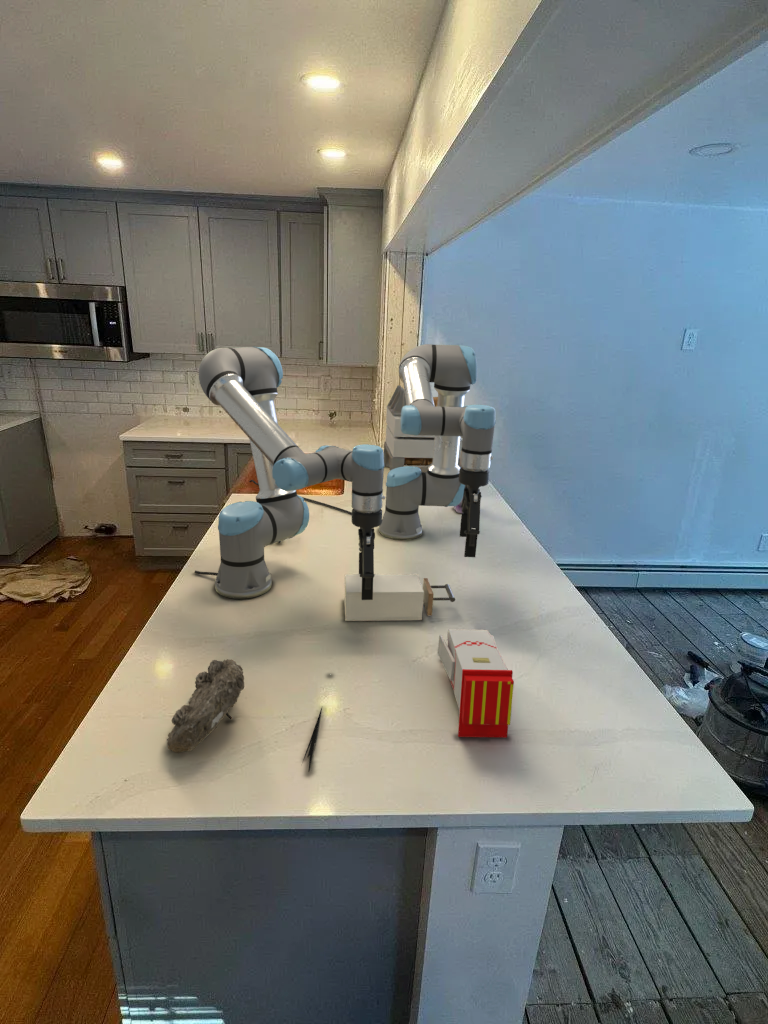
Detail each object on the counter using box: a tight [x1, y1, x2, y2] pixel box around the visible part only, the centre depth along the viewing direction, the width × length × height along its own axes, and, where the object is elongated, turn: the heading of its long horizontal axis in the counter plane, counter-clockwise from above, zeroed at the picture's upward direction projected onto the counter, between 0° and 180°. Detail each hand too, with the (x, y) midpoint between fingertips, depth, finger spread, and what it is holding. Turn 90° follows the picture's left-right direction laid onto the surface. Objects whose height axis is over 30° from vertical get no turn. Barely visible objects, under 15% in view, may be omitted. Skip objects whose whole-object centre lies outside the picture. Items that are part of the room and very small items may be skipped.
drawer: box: [422, 577, 456, 617], centre depth 148 cm, size 24×9×6 cm, turn 95°
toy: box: [437, 628, 515, 738], centre depth 117 cm, size 12×13×30 cm
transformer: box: [383, 384, 463, 471], centre depth 268 cm, size 34×33×41 cm
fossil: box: [166, 658, 245, 754], centre depth 106 cm, size 22×10×15 cm
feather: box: [301, 673, 332, 771], centre depth 108 cm, size 2×28×2 cm
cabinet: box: [343, 573, 424, 622], centre depth 148 cm, size 20×10×8 cm, turn 95°
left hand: (365, 586), depth 146 cm, fingers open, 13 cm apart
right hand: (467, 546), depth 149 cm, fingers open, 13 cm apart
